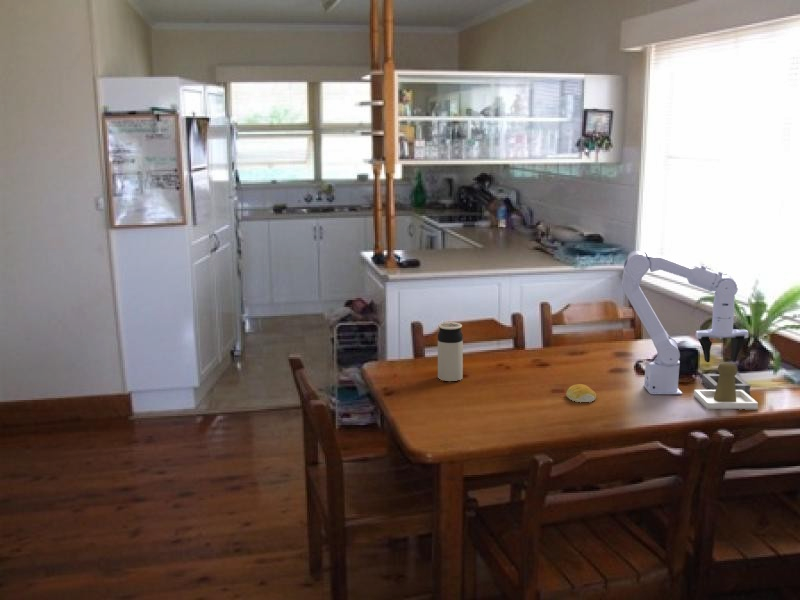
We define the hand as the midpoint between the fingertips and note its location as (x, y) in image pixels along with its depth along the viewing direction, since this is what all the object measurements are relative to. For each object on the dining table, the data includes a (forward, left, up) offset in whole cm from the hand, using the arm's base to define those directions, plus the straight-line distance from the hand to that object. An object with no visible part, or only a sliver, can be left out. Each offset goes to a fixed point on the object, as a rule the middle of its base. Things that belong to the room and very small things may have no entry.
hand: (720, 361), depth 222 cm
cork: (0, -6, -10) cm, 12 cm away
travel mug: (-79, +15, -11) cm, 81 cm away
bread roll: (-41, -3, -11) cm, 42 cm away
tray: (0, -7, -10) cm, 13 cm away
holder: (+5, +6, -10) cm, 13 cm away
